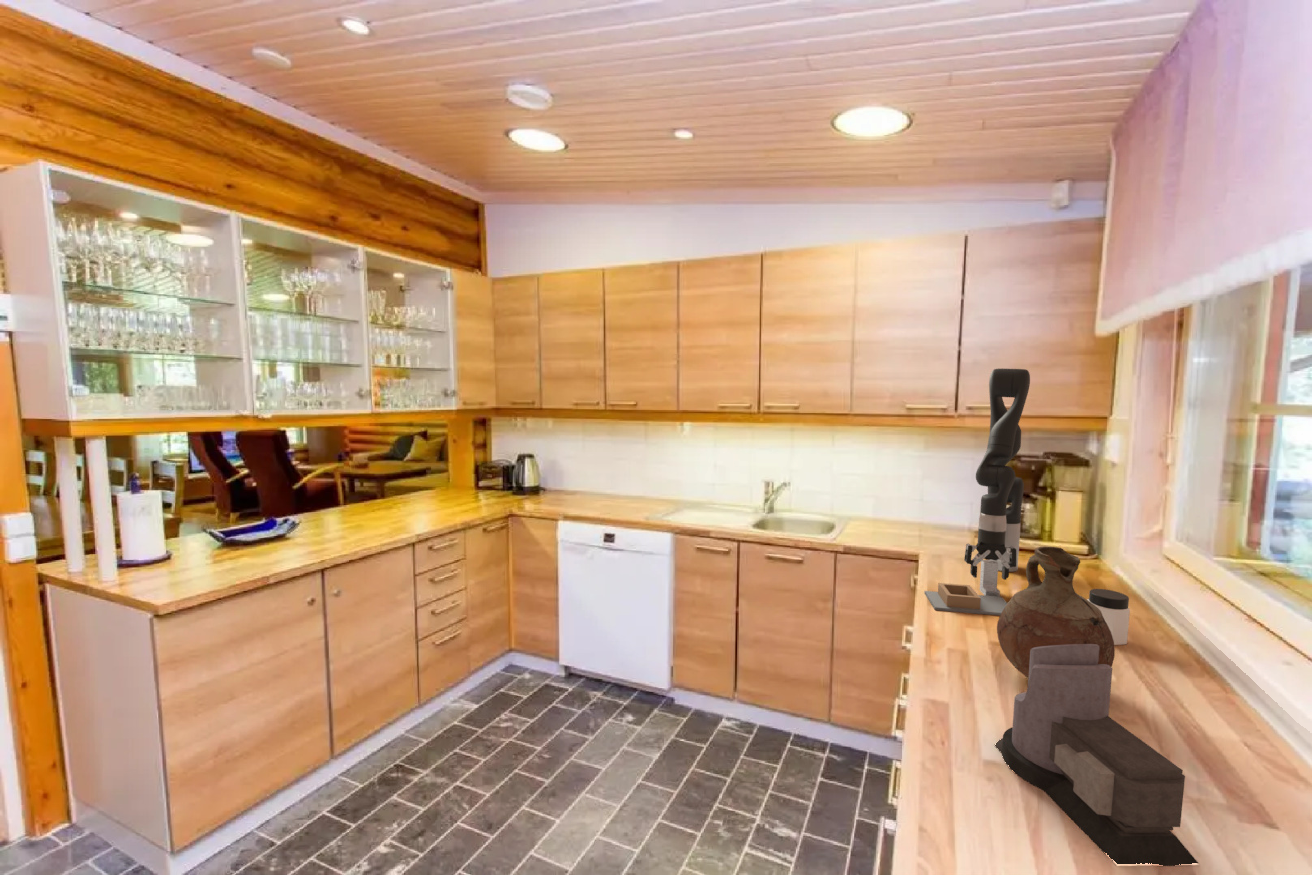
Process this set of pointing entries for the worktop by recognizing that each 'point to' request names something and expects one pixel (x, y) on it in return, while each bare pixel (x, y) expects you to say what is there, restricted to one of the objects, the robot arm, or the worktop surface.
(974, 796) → the worktop surface
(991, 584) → the block
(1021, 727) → the brown blocky piece
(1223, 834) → the worktop surface
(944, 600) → the board
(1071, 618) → the jug
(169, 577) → the worktop surface
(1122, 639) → the jar
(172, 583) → the worktop surface
